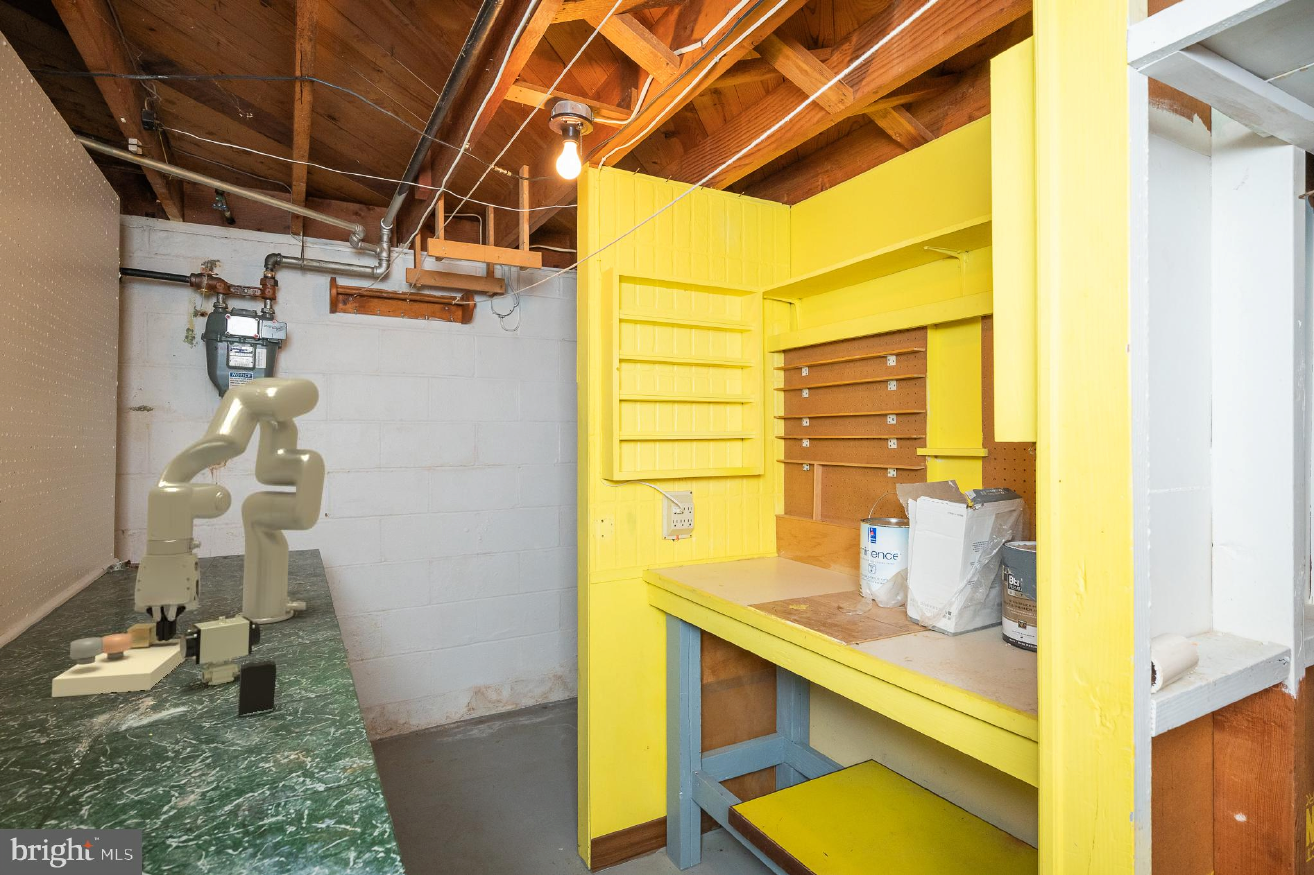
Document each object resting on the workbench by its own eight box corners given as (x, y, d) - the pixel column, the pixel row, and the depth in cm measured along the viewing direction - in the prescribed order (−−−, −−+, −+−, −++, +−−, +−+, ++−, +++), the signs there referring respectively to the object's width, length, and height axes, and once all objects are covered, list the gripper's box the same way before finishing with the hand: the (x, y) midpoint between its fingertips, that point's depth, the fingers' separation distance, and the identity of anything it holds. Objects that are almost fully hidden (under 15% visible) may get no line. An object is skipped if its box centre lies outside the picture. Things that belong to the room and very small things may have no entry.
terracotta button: (134, 652, 127) (135, 632, 127) (124, 660, 123) (125, 639, 123) (106, 654, 125) (107, 634, 125) (95, 661, 121) (96, 640, 121)
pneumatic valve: (259, 678, 125) (261, 613, 125) (184, 694, 116) (187, 624, 116) (249, 670, 128) (251, 608, 129) (176, 685, 120) (179, 618, 120)
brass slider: (156, 640, 134) (157, 622, 134) (148, 646, 131) (149, 628, 131) (135, 641, 133) (136, 623, 133) (126, 647, 129) (127, 629, 130)
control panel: (193, 652, 138) (194, 637, 138) (149, 690, 117) (150, 672, 117) (112, 657, 134) (113, 642, 134) (51, 697, 113) (52, 679, 113)
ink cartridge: (272, 707, 111) (275, 659, 112) (273, 712, 110) (276, 663, 110) (237, 712, 109) (240, 663, 109) (238, 717, 107) (241, 667, 107)
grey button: (107, 657, 120) (108, 636, 120) (95, 665, 116) (96, 643, 116) (77, 659, 119) (78, 638, 119) (64, 667, 115) (65, 645, 115)
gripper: (218, 544, 139) (214, 632, 139) (132, 545, 135) (129, 636, 134) (206, 549, 132) (203, 642, 132) (116, 551, 128) (112, 647, 127)
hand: (165, 639), depth 133 cm, fingers closed
